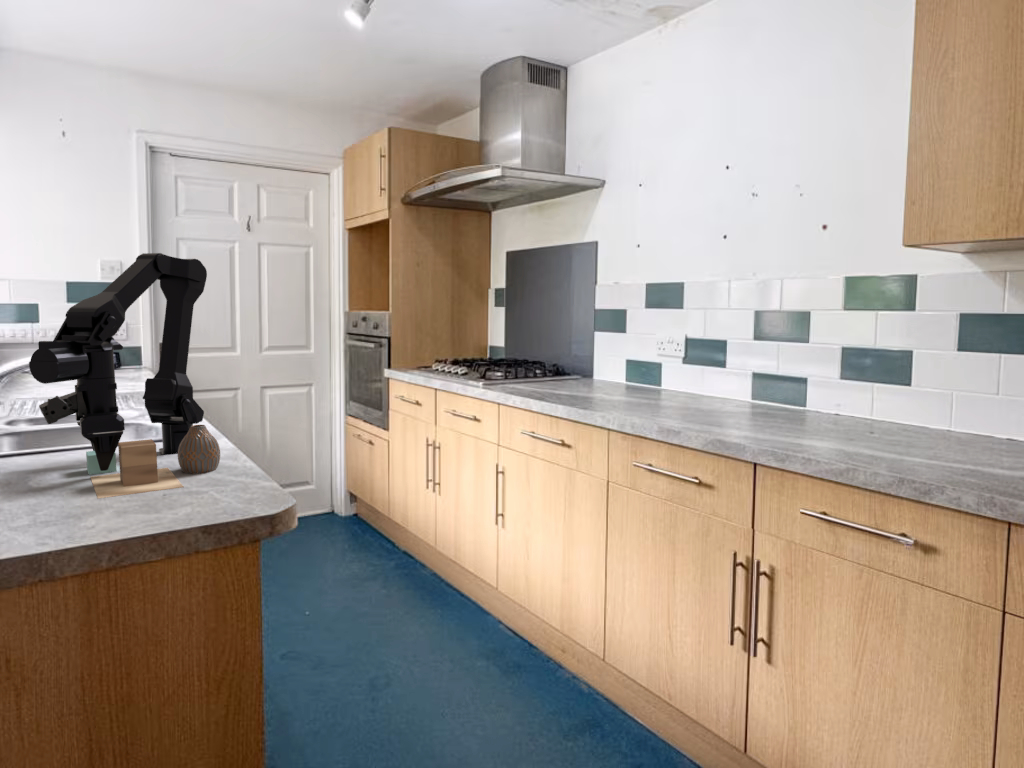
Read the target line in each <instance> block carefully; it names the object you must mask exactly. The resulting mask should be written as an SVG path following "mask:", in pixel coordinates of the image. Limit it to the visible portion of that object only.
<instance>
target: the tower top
mask: <svg viewBox="0 0 1024 768" xmlns="http://www.w3.org/2000/svg"><path fill="white" fill-rule="evenodd" d="M117 447H118V460H119V461H118V462H120V464H121V465H122V467H129V466H138V465H147V464H156V463H157V464H158V456H157V444H156V442H155V441H154V440H153V439H152V438H151V439H150V438H149V439H144V440H143V439H142V440H140V439H139V440H131V441H122V442H121V441H119V443H118V446H117ZM120 464H119V465H120Z"/></svg>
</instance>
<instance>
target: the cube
mask: <svg viewBox="0 0 1024 768" xmlns="http://www.w3.org/2000/svg"><path fill="white" fill-rule="evenodd" d="M116 454H117V453H116V452H115V453H114V455H113V458H112V460H111V463H110V466H109V468H108V470H105V471H101V470H100V467H99V464H98V460H97V457H96V453H95V451H93V450H90V451H86V452H85V457H86V471H87V473H88V475H89V476H91V475H98V474H99V475H100V474H107V473H109V474H110V473H116V472H118V471H117V470H118V469H117V457H116V456H117V455H116Z"/></svg>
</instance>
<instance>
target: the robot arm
mask: <svg viewBox="0 0 1024 768" xmlns="http://www.w3.org/2000/svg"><path fill="white" fill-rule="evenodd" d="M207 276H208V272H207V269H206V266H205V265H204V264H203V262H202V261H200V260H199V259H196V258H179V257H175V256H170V255H168V254H164V253H161V252H155V253H154V252H152V253H151V252H150V253H148V252H147V253H146V252H145V253H143V252H142V253H141V254H139V255H138V256H137V257H136V258H135V261H134V262H133V263H132V264H131V265H129V267H127V268H126V269H125V270H124V271H123V272H122V273H121V274H120V275H119V276H118V277H116V278H115V279H114V280H113V281H112V282H111V284H108V286H107V287H106V288H104V290H102V291H101V292H100V293H98V294H95V295H93V296H89V297H87V298H84V299H82V300H81V301H79V302H77V303H75V304H74V305H72V306H71V307H69V309H67V311H66V313H65V319H64V321H63V323H62V325H61V326H60V328H59V330H58V331H57V333H56V335H55V337H54V338H53V340H43V341H42V340H41V341H40V340H39V341H38V342H37V345H38V349H36V350H35V351H34V352H33V353H32V355H31V358H30V360H29V362H28V365H29V366H28V367H29V371H30V373H31V375H32V377H33V379H34V380H36V382H38V383H40V384H45V385H46V384H54V383H55V384H56V383H62V382H69V381H76V384H75V385H74V391H73V392H71V393H67V394H64V395H62V396H58V395H56V396H55V397H51V398H47V401H45V402H43V403H41V404H39V405H38V408H39V410H40V412H41V414H42V416H43V417H44V419H45V422H46V423H47V424H48V425H52V424H55V423H57V422H58V421H59V420H61V419H64V418H67V417H69V416H71V415H75V420H76V423H77V425H78V427H79V428H80V433H81V436H82V437H83V438H85V439H86V440H87V441H89V442H90V444H91V448H92V451H95V453H96V457H97V460H98V464H99V467H100V470H101V471H105V470H108V468H109V466H110V463H111V460H112V458H113V455H114V453H116V451H117V447H118V443H119V442H121V438H122V436H123V435H124V431H125V429H126V428H125V427H126V426H125V419H124V417H123V416H122V415H121V414H119V406H118V405H117V402H118V401H117V390H118V385H117V382H116V375H115V374H116V373H115V372H116V371H115V357H114V351H120V350H121V351H122V350H123V349H124V346H123V345H122V344H121V343H120V342H118V341H116V339H115V338H114V336H115V335H117V333H118V331H119V330H120V328H121V327H122V326H123V324H124V322H125V321H126V312H127V311H128V309H129V308H130V307H131V306H132V305H133V304H134V303H135V302H136V301H137V300H138V299H139V298H140V297H141V296H142V295H143V294H144V293H145V292H146V291H147V290H148V289H149V288H150V287H151V286H152V285H153V284H154V283H155V282H157V280H158V281H159V287H160V290H161V292H162V293H163V296H164V297H165V298H164V299H165V300H166V304H165V312H164V313H165V314H164V322H163V331H162V340H161V348H160V350H161V351H160V357H159V365H158V371H157V372H156V374H155V375H154V376H153V377H152V378H149V377H148V378H146V379H145V381H144V393H143V396H142V399H143V400H144V407H145V409H146V411H147V413H148V417H149V419H150V422H151V424H161V437H162V439H161V440H162V447H161V448H158V451H159V453H160V454H161V455H162V456H168V455H170V456H171V455H178V448H179V445H180V443H181V441H182V439H183V438H184V437H185V435H186V434H187V433H188V431H189V429H190V426H192V425H198V424H200V423H201V422H203V421H204V416H205V415H204V414H205V411H204V409H203V408H202V407H201V406H200V405H199V404H198V402H196V400H195V399H194V387H193V385H192V383H191V381H190V379H189V377H188V375H187V370H188V359H189V350H190V341H191V333H192V332H191V331H192V324H193V313H194V306H195V303H196V302H197V301H198V300H199V298H200V297H201V295H202V294H203V293H204V290H205V286H206V282H207V278H208V277H207Z"/></svg>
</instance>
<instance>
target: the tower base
mask: <svg viewBox="0 0 1024 768" xmlns="http://www.w3.org/2000/svg"><path fill="white" fill-rule="evenodd" d="M118 462H119V461H118ZM118 464H119V473H120V480H121V482H122V484H123V486H124V487H125V486H133V485H141V484H149V483H157V482H158V471H157V469H158V462H157V463H156V464H147V465H138V466H129V467H122V465H121V464H120V462H119V463H118Z"/></svg>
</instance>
